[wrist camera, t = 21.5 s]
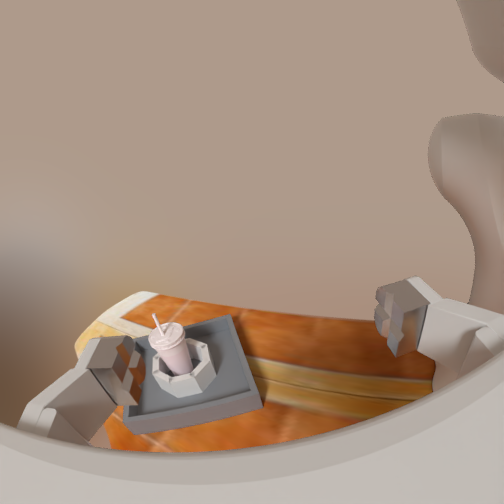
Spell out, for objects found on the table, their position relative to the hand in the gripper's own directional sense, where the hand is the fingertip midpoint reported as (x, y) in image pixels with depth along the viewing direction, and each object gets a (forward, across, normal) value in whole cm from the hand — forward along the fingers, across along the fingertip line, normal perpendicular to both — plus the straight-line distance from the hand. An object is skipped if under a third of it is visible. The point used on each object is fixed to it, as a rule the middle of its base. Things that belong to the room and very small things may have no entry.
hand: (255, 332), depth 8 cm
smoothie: (+28, +16, +31) cm, 45 cm away
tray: (+28, +15, +32) cm, 45 cm away
